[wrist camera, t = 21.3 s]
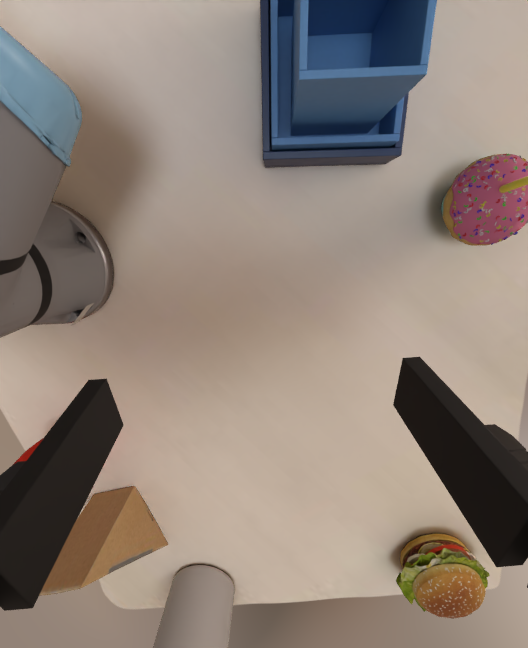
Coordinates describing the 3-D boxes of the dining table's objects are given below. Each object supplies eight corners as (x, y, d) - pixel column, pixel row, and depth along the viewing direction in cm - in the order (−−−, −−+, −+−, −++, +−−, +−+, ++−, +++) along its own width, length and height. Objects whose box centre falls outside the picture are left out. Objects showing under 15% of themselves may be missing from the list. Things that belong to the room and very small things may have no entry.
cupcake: (411, 196, 33) (480, 183, 22) (483, 144, 31) (599, 101, 20) (445, 257, 36) (523, 273, 24) (515, 212, 34) (635, 207, 22)
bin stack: (385, 164, 33) (407, 152, 27) (264, 167, 33) (262, 156, 28) (403, -1, 28) (434, -57, 22) (262, 7, 29) (258, -46, 23)
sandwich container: (129, 551, 56) (79, 662, 42) (92, 494, 52) (22, 596, 38) (169, 545, 55) (132, 656, 41) (135, 485, 50) (80, 588, 36)
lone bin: (367, 133, 30) (427, 74, 18) (290, 136, 31) (298, 79, 19) (376, 29, 28) (454, -124, 15) (291, 34, 28) (302, -112, 16)
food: (447, 513, 49) (477, 566, 42) (483, 559, 53) (518, 616, 45) (376, 545, 53) (392, 598, 45) (414, 586, 56) (436, 643, 48)
